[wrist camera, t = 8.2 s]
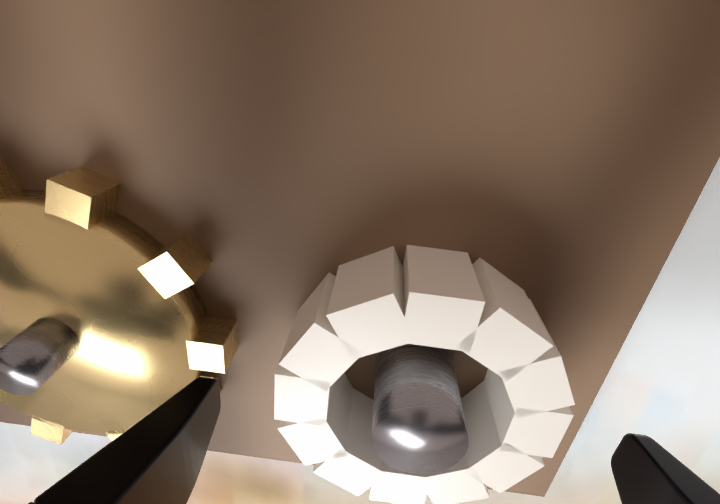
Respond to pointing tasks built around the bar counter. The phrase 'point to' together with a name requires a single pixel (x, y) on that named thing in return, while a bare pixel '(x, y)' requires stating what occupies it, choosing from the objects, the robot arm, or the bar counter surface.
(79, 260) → the brass drive gear
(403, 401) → the steel peg
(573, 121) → the gear board
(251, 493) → the bar counter surface
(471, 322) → the ring gear
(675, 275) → the bar counter surface
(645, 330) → the bar counter surface
